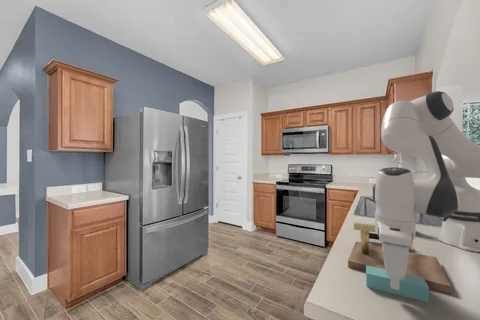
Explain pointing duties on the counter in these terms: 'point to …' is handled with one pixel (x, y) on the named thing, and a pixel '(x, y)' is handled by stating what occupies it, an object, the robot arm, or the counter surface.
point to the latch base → (416, 265)
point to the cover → (407, 286)
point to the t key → (364, 235)
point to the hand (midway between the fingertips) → (394, 279)
